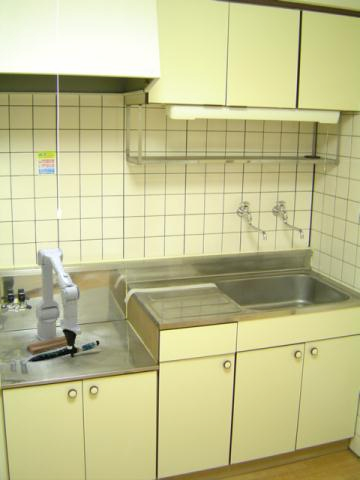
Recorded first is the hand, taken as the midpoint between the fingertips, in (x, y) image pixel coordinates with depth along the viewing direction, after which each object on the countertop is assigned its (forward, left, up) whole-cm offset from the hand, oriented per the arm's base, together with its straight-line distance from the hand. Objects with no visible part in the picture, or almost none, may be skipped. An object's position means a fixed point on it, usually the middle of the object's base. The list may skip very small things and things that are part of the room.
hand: (70, 345), depth 224 cm
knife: (-6, 0, -8) cm, 9 cm away
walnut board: (-19, 0, -7) cm, 20 cm away
